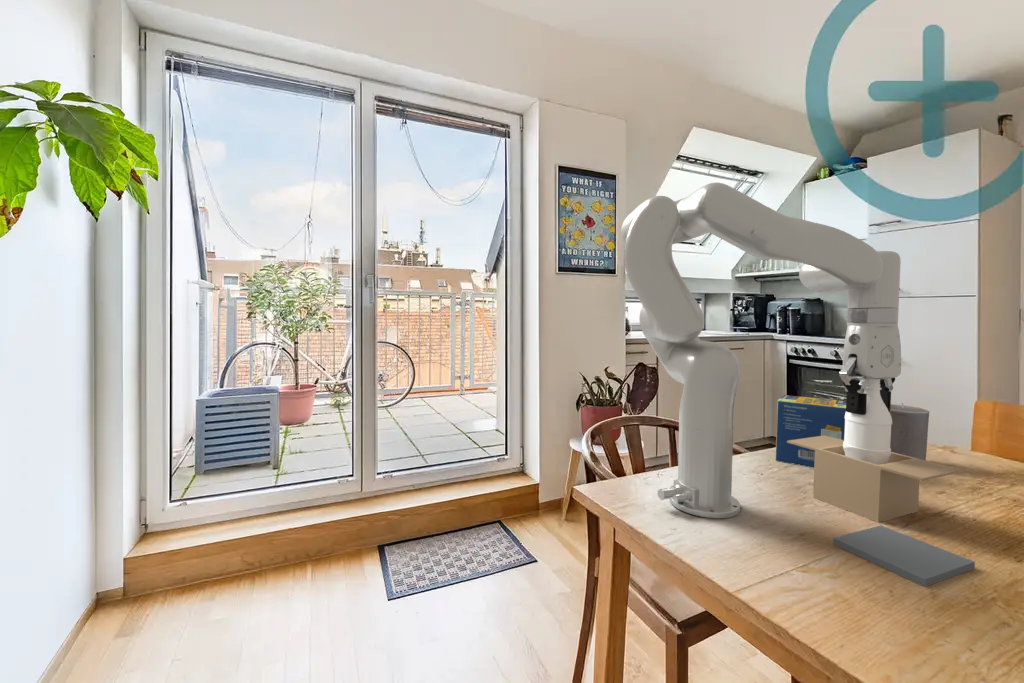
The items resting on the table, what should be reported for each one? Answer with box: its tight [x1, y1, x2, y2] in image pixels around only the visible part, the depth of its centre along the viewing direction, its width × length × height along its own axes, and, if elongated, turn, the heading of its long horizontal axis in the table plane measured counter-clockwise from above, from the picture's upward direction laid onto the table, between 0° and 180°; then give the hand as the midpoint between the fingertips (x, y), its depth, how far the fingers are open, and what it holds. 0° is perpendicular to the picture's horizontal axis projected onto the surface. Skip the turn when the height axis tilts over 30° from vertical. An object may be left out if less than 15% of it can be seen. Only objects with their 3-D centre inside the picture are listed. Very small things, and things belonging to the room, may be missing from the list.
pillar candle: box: [889, 402, 930, 461], centre depth 111 cm, size 10×10×15 cm
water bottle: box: [843, 375, 892, 465], centre depth 85 cm, size 7×7×25 cm
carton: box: [787, 436, 964, 523], centre depth 86 cm, size 12×24×10 cm, turn 21°
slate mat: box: [832, 524, 976, 587], centre depth 68 cm, size 12×12×1 cm
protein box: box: [774, 394, 846, 468], centre depth 111 cm, size 10×15×16 cm
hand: (868, 411), depth 85 cm, fingers closed on water bottle, 6 cm apart
